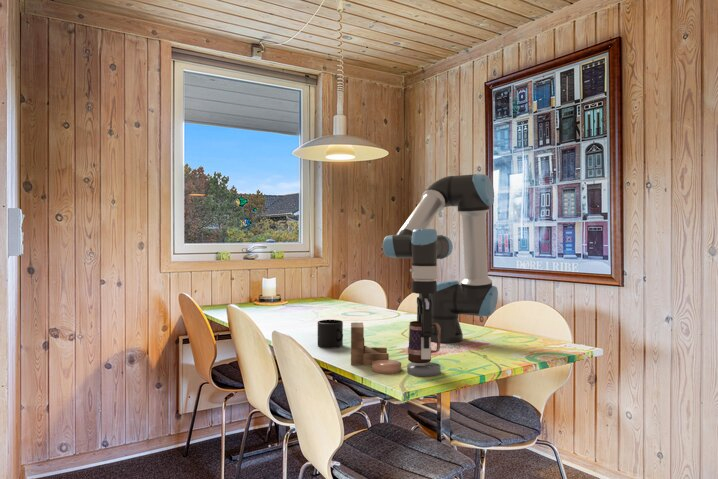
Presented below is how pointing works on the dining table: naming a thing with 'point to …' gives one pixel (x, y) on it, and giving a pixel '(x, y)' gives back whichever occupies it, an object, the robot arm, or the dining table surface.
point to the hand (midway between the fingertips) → (423, 355)
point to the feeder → (364, 348)
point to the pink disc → (386, 366)
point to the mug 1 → (330, 333)
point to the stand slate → (423, 369)
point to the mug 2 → (419, 342)
